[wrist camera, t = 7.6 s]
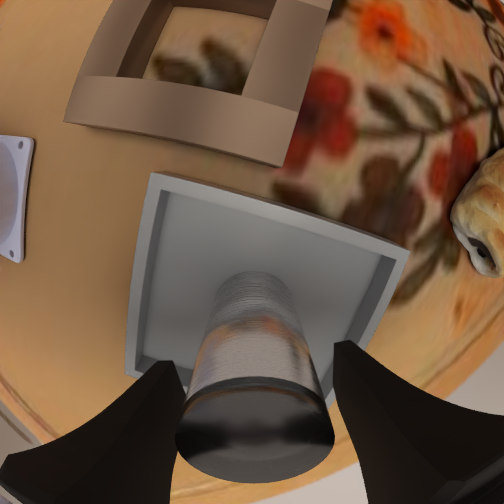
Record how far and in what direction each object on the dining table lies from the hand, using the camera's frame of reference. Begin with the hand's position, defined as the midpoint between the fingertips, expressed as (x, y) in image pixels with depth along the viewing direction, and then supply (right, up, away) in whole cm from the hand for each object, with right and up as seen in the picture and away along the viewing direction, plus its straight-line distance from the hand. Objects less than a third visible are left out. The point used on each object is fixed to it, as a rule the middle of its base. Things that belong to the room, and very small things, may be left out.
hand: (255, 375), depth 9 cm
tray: (0, +2, +5) cm, 5 cm away
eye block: (-2, +14, +1) cm, 14 cm away
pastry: (+15, +8, +4) cm, 18 cm away
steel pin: (0, +2, +5) cm, 5 cm away
